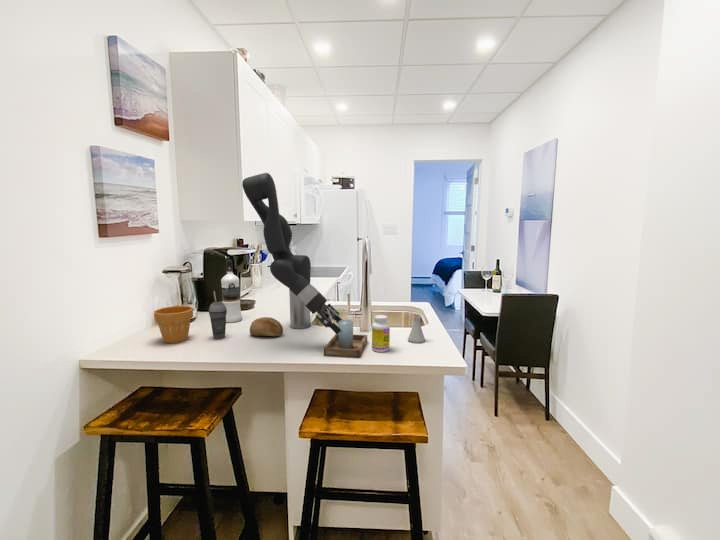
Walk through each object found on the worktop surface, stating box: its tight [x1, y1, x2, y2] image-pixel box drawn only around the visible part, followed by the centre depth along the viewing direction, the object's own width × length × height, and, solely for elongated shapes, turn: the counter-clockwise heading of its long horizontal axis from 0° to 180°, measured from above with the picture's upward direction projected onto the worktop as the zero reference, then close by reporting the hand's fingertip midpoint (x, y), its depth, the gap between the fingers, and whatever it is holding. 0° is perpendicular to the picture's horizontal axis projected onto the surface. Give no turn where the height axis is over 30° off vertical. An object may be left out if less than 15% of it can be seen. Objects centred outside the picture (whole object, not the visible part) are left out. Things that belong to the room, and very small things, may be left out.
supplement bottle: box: [371, 314, 391, 353], centre depth 137 cm, size 7×7×13 cm
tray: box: [323, 333, 368, 359], centre depth 139 cm, size 18×13×3 cm
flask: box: [407, 315, 426, 344], centre depth 147 cm, size 7×7×10 cm
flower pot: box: [153, 305, 194, 344], centre depth 150 cm, size 14×14×13 cm
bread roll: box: [249, 316, 284, 337], centre depth 155 cm, size 10×15×8 cm, turn 78°
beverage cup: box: [208, 290, 227, 340], centre depth 152 cm, size 7×7×20 cm
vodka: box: [220, 260, 243, 324], centre depth 178 cm, size 9×9×30 cm
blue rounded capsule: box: [337, 319, 354, 349], centre depth 137 cm, size 6×6×10 cm
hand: (341, 328), depth 138 cm, fingers open, 8 cm apart
